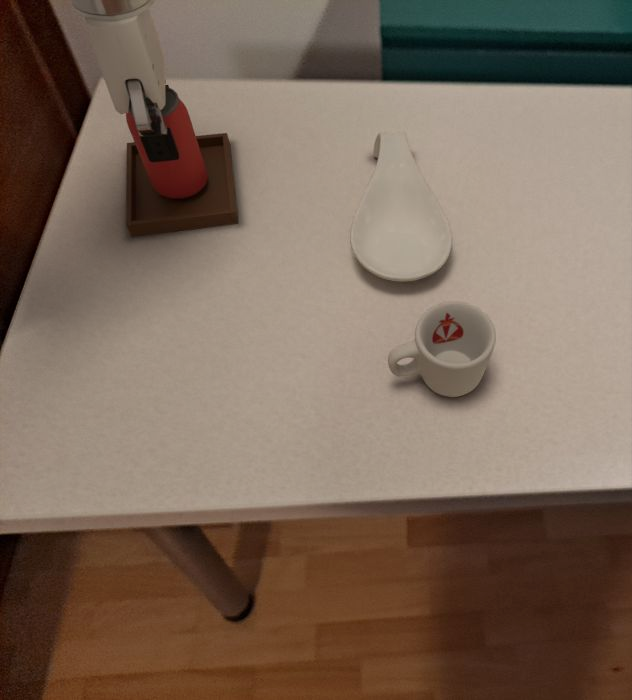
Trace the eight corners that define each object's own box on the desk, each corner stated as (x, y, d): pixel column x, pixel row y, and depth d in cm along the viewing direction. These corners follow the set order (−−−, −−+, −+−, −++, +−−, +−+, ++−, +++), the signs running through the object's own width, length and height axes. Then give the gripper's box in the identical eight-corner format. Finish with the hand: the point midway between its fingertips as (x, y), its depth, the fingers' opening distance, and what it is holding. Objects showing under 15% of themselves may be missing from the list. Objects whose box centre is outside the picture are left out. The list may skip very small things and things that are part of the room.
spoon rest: (456, 293, 80) (461, 252, 74) (354, 300, 78) (351, 259, 72) (432, 153, 92) (434, 109, 86) (344, 157, 91) (340, 111, 85)
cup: (397, 419, 70) (396, 380, 64) (381, 355, 74) (379, 312, 68) (497, 398, 73) (506, 358, 66) (476, 337, 77) (483, 293, 70)
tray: (131, 237, 81) (125, 225, 79) (131, 155, 88) (126, 142, 86) (238, 223, 83) (235, 211, 81) (230, 144, 90) (227, 132, 89)
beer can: (161, 161, 86) (130, 78, 76) (214, 166, 86) (190, 84, 76) (146, 199, 83) (111, 117, 72) (201, 204, 83) (174, 122, 73)
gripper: (69, -63, 67) (130, 92, 82) (59, 41, 59) (129, 195, 73) (150, -67, 69) (195, 87, 84) (152, 35, 60) (202, 186, 75)
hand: (163, 136), depth 79 cm, fingers closed on beer can, 6 cm apart
